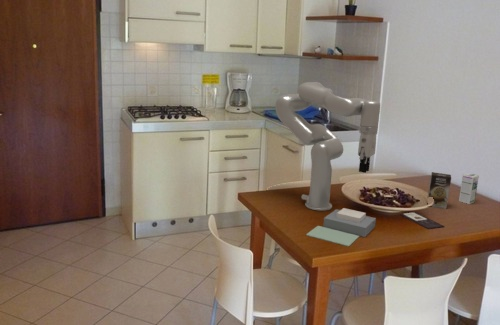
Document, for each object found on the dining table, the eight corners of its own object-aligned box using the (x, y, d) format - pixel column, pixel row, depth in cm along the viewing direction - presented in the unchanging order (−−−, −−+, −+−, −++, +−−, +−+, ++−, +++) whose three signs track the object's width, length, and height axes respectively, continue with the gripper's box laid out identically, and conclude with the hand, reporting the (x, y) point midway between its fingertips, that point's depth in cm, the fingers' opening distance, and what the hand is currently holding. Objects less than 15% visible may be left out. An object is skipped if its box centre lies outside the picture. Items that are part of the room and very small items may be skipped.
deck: (323, 226, 204) (324, 218, 203) (335, 217, 216) (336, 209, 215) (364, 237, 195) (365, 228, 194) (374, 226, 207) (376, 218, 206)
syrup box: (469, 204, 244) (474, 177, 240) (458, 201, 248) (462, 174, 245) (474, 202, 247) (479, 175, 244) (463, 199, 252) (468, 172, 248)
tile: (336, 217, 205) (336, 212, 204) (343, 212, 211) (343, 207, 211) (359, 222, 200) (359, 218, 199) (365, 217, 206) (365, 213, 206)
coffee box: (426, 206, 238) (431, 174, 234) (426, 202, 244) (431, 171, 240) (446, 209, 235) (451, 177, 231) (445, 205, 241) (450, 174, 237)
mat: (306, 235, 194) (306, 234, 194) (317, 226, 204) (317, 225, 204) (348, 246, 185) (348, 245, 185) (359, 236, 196) (359, 235, 195)
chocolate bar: (428, 228, 207) (400, 214, 223) (428, 230, 208) (400, 215, 224) (444, 226, 211) (415, 212, 227) (444, 228, 211) (415, 214, 227)
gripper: (371, 133, 197) (366, 176, 202) (382, 128, 211) (377, 169, 215) (353, 131, 201) (349, 173, 205) (365, 126, 214) (361, 166, 219)
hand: (363, 171), depth 210 cm, fingers open, 2 cm apart
